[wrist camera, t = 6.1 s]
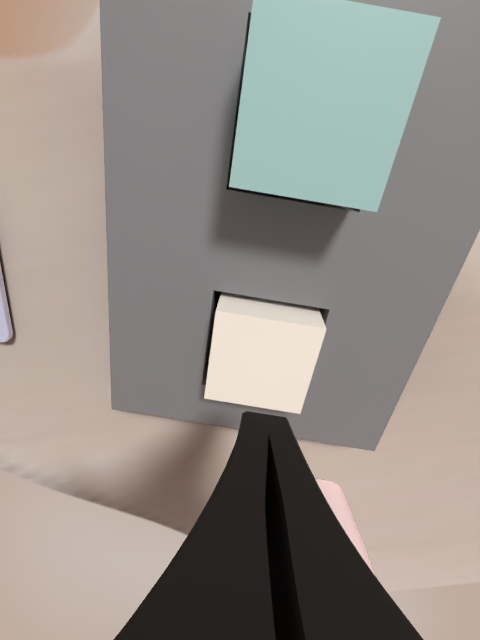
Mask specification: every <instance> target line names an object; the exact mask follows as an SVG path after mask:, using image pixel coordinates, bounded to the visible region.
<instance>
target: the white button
mask: <svg viewBox="0 0 480 640" xmlns="http://www.w3.org/2000/svg"><path fill="white" fill-rule="evenodd" d="M325 333H326V326H325V324H324V321H323V319H322V316H321V313H320V311H319V308H317V307H311V306H305V305H299V304H293V303H287V302H281V301H275V300H269V299H263V298H257V297H251V296H245V295H239V294H233V293H227V292H221V295H220V298H219V302H218V305H217V308H216V312H215V320H214V327H213V335H212V342H211V350H210V357H209V365H208V372H207V380H206V387H205V395H204V399H210V400H216V401H223V402H229V403H235V404H241V405H247V406H254V407H260V408H266V409H272V410H278V411H284V412H291V413H297V414H300V413H301V410H302V407H303V404H304V400H305V397H306V394H307V391H308V388H309V384H310V381H311V378H312V375H313V371H314V368H315V365H316V362H317V359H318V355H319V352H320V349H321V346H322V342H323V339H324V336H325Z"/></svg>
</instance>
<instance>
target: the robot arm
mask: <svg viewBox="0 0 480 640" xmlns="http://www.w3.org/2000/svg"><path fill="white" fill-rule="evenodd" d="M12 337H13V330H12V325H11V319H10V314H9V308H8V303H7V297H6V292H5V286H4V281H3V275H2V270H1V264H0V342H6V341H8V340H10V339H11V338H12ZM114 640H423V639H422V637H421V636H420V635H419V633H418V632H417V631H416V629H415V628H414V627H413V626H412V624H411V623H410V622H409V620H408V619H407V618H406V616H405V615H404V614H403V613H402V611H401V610H400V609H399V607H398V606H397V605H396V603H395V602H394V601H393V599H392V598H391V597H390V596H389V594H388V593H387V592H386V590H385V589H384V588H383V586H382V585H381V584H380V582H379V581H378V579H377V578H376V577H375V575H374V574H373V572H372V571H371V569H370V568H369V567H368V565H367V564H366V562H365V561H364V559H363V558H362V556H361V555H360V553H359V552H358V550H357V549H356V547H355V546H354V544H353V543H352V541H351V540H350V538H349V537H348V535H347V534H346V532H345V530H344V529H343V527H342V526H341V524H340V522H339V521H338V519H337V517H336V516H335V514H334V512H333V511H332V509H331V507H330V505H329V504H328V502H327V500H326V498H325V497H324V495H323V493H322V491H321V489H320V487H319V486H318V484H317V482H316V480H315V478H314V476H313V474H312V472H311V470H310V468H309V466H308V464H307V462H306V460H305V458H304V456H303V454H302V451H301V449H300V447H299V445H298V443H297V440H296V438H295V436H294V433H293V431H292V428H291V426H290V423H289V421H288V419H287V418H286V417H281V416H275V415H268V414H262V413H256V412H250V411H246V412H244V413H242V417H241V422H240V427H239V431H238V436H237V440H236V443H235V445H234V448H233V450H232V453H231V455H230V458H229V460H228V462H227V465H226V467H225V469H224V471H223V473H222V475H221V477H220V479H219V481H218V483H217V485H216V487H215V489H214V491H213V493H212V495H211V497H210V499H209V501H208V502H207V504H206V506H205V508H204V510H203V511H202V513H201V515H200V516H199V518H198V520H197V522H196V523H195V525H194V527H193V528H192V530H191V531H190V533H189V535H188V536H187V538H186V539H185V541H184V542H183V544H182V546H181V547H180V549H179V550H178V552H177V553H176V555H175V556H174V558H173V559H172V561H171V562H170V564H169V565H168V567H167V568H166V570H165V571H164V573H163V574H162V575H161V577H160V578H159V580H158V581H157V583H156V584H155V585H154V587H153V588H152V589H151V591H150V592H149V593H148V595H147V596H146V598H145V599H144V600H143V602H142V603H141V604H140V606H139V607H138V609H137V610H136V612H135V613H134V614H133V616H132V617H131V618H130V619H129V621H128V622H127V623H126V625H125V626H124V627H123V629H122V630H121V631H120V632H119V634H118V635H117V636H116V637H115V639H114Z"/></svg>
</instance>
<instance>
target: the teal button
mask: <svg viewBox="0 0 480 640" xmlns="http://www.w3.org/2000/svg"><path fill="white" fill-rule="evenodd" d="M440 19H441V17H436V16H431V15H425V14H420V13H414V12H409V11H403V10H397V9H392V8H386V7H381V6H375V5H370V4H364V3H359V2H353V1H348V0H253V4H252V12H251V19H250V27H249V35H248V43H247V50H246V58H245V66H244V74H243V82H242V89H241V97H240V105H239V113H238V120H237V128H236V136H235V144H234V151H233V159H232V167H231V175H230V183H229V187H233V188H239V189H244V190H250V191H256V192H262V193H268V194H274V195H279V196H285V197H291V198H297V199H303V200H309V201H315V202H320V203H326V204H332V205H338V206H344V207H350V208H356V209H361V210H367V211H373V212H377V211H378V208H379V205H380V202H381V199H382V196H383V193H384V190H385V187H386V184H387V180H388V177H389V174H390V171H391V168H392V165H393V162H394V159H395V156H396V153H397V150H398V147H399V144H400V141H401V138H402V135H403V132H404V129H405V126H406V123H407V120H408V117H409V114H410V111H411V107H412V104H413V101H414V98H415V95H416V92H417V89H418V86H419V83H420V80H421V77H422V74H423V71H424V68H425V65H426V62H427V59H428V56H429V53H430V50H431V47H432V44H433V41H434V38H435V35H436V31H437V28H438V25H439V22H440Z"/></svg>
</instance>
